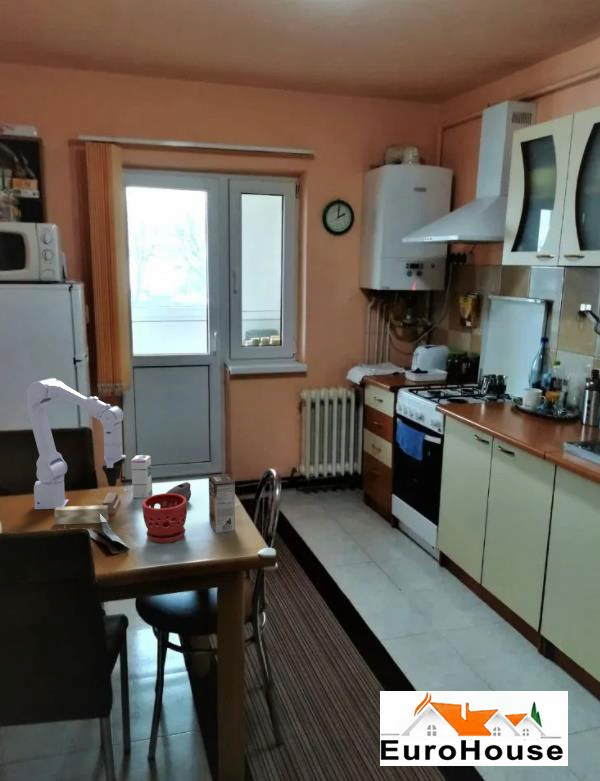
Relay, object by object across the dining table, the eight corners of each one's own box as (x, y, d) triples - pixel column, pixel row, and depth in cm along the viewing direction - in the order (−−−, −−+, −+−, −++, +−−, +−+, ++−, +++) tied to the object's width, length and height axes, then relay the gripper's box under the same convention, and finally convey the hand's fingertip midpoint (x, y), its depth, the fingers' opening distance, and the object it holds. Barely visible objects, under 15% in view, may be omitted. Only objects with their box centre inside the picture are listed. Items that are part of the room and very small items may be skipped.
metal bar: (55, 525, 196) (54, 510, 195) (57, 521, 199) (56, 506, 198) (106, 523, 198) (106, 508, 197) (108, 519, 201) (107, 505, 200)
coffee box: (208, 522, 199) (207, 475, 196) (227, 520, 201) (227, 473, 199) (215, 533, 191) (214, 483, 188) (235, 530, 193) (235, 481, 190)
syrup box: (148, 498, 221) (147, 459, 219) (132, 497, 221) (130, 459, 219) (152, 492, 227) (151, 455, 224) (136, 492, 227) (135, 454, 224)
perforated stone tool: (166, 514, 206) (166, 494, 205) (155, 511, 209) (154, 491, 208) (195, 501, 219) (195, 482, 218) (184, 498, 221) (184, 480, 220)
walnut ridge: (100, 514, 205) (99, 502, 204) (105, 503, 215) (105, 492, 214) (115, 513, 206) (115, 502, 205) (120, 503, 215) (120, 492, 215)
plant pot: (142, 531, 192) (141, 494, 190) (185, 527, 195) (184, 491, 193) (144, 548, 179) (142, 509, 177) (189, 543, 183) (188, 505, 181)
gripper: (121, 448, 198) (123, 489, 201) (128, 437, 213) (129, 475, 215) (99, 449, 197) (100, 489, 200) (107, 438, 212) (108, 475, 214)
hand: (114, 482), depth 207 cm, fingers open, 7 cm apart
